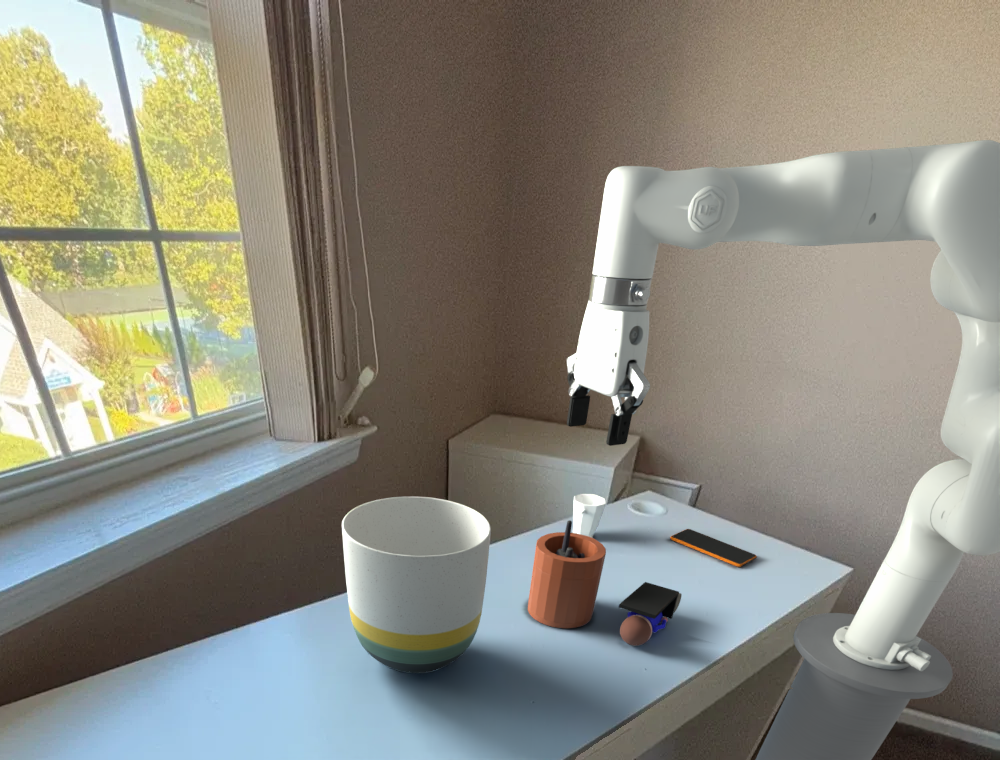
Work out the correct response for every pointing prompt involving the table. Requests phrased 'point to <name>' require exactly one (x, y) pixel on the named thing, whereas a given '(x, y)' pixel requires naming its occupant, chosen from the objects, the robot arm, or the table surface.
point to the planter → (415, 579)
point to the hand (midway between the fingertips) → (595, 434)
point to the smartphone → (713, 547)
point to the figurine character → (647, 612)
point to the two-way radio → (565, 550)
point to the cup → (587, 513)
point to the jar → (565, 580)
